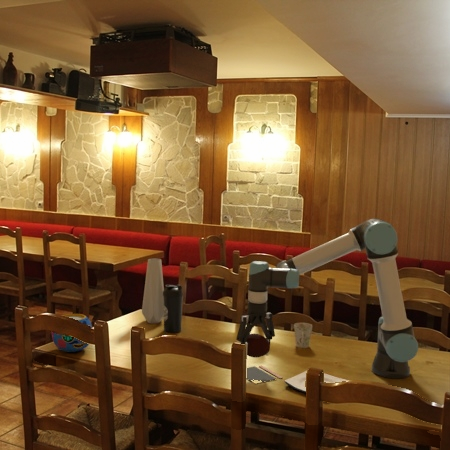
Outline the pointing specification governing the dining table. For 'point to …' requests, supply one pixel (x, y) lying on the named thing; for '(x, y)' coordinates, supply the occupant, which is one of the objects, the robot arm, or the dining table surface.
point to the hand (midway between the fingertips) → (255, 356)
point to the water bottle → (173, 308)
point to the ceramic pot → (70, 342)
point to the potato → (257, 345)
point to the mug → (302, 334)
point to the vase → (153, 292)
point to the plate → (300, 379)
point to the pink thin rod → (271, 372)
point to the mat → (258, 374)
